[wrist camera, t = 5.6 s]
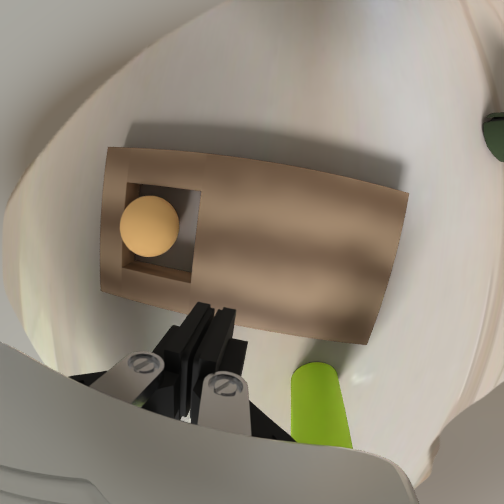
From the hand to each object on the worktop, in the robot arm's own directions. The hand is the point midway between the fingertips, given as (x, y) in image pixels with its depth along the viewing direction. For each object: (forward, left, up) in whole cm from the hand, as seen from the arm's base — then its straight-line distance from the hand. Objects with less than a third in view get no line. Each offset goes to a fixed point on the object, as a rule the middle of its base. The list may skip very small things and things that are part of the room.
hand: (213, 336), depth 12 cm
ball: (+1, +10, -15) cm, 18 cm away
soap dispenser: (-16, -10, -18) cm, 26 cm away
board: (0, +1, -18) cm, 18 cm away
